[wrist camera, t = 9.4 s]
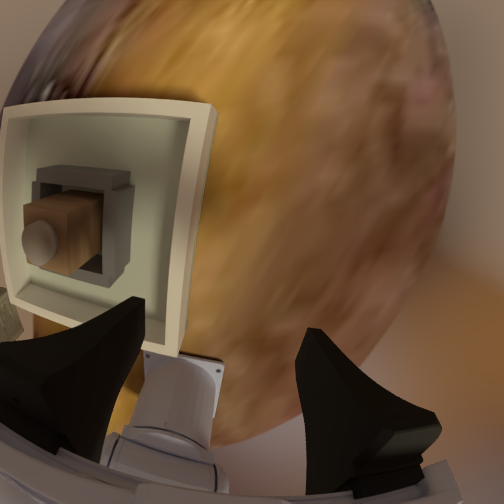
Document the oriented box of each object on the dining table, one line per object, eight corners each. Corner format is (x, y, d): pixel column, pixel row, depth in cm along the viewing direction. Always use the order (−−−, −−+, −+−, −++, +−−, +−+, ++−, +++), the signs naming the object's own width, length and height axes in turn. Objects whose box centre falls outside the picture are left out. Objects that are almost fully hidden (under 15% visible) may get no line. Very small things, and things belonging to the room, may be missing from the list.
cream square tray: (186, 328, 24) (177, 357, 20) (31, 285, 23) (10, 302, 19) (218, 113, 18) (211, 104, 14) (32, 109, 17) (3, 107, 13)
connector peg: (108, 244, 20) (60, 282, 14) (70, 236, 20) (18, 268, 13) (111, 194, 19) (57, 217, 12) (71, 189, 18) (13, 208, 12)
